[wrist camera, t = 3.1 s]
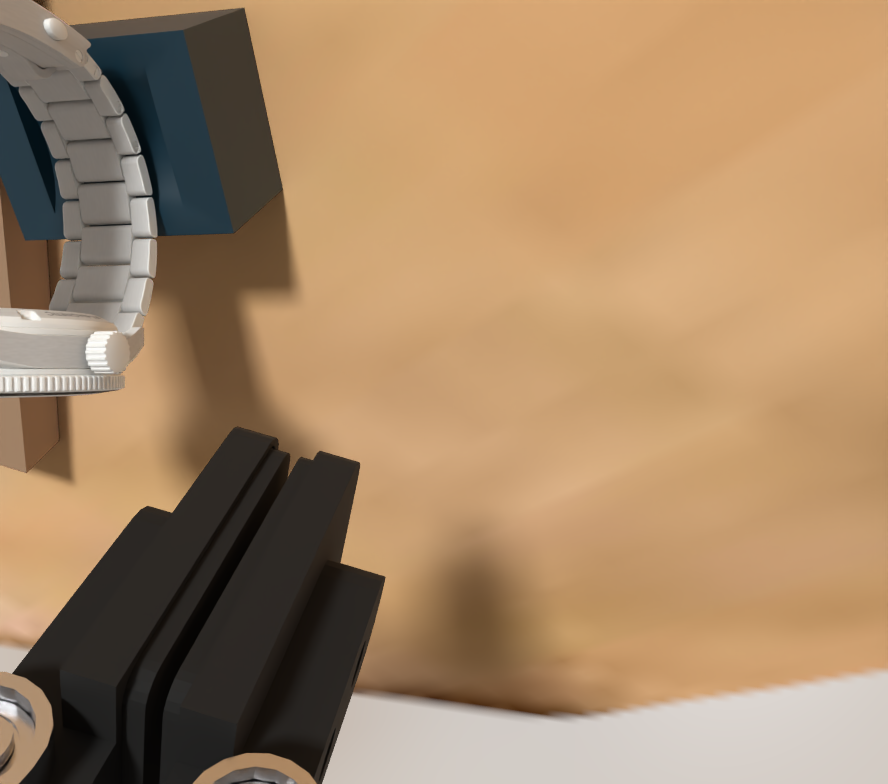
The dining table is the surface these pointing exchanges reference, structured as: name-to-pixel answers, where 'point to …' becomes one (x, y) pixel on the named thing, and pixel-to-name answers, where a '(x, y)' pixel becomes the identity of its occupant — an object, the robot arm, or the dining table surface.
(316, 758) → the robot arm
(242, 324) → the dining table surface
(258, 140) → the watch
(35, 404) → the mat
